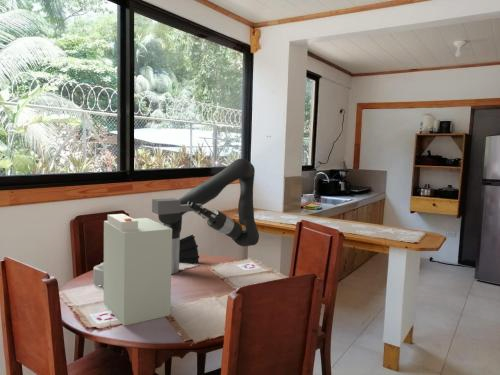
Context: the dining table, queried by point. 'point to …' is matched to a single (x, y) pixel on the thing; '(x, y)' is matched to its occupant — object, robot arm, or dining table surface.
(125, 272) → the pale grey tall block
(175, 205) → the block
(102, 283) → the lumpy-topped squat cylinder
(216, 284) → the dining table surface
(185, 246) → the black ridged fan wedge
